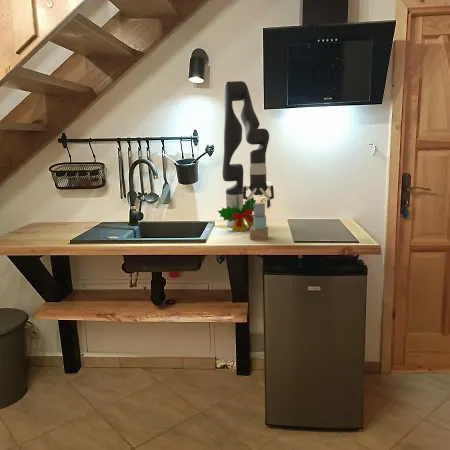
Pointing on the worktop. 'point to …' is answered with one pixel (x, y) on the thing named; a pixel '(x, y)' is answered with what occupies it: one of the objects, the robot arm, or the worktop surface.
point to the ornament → (239, 215)
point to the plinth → (259, 234)
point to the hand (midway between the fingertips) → (258, 208)
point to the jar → (259, 209)
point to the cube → (259, 222)
